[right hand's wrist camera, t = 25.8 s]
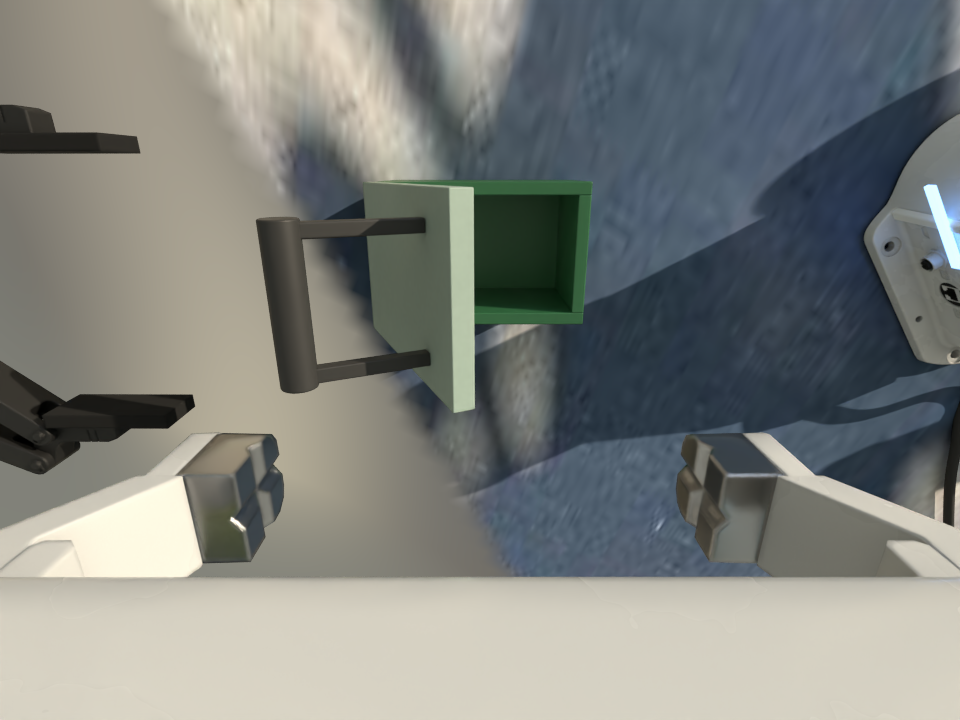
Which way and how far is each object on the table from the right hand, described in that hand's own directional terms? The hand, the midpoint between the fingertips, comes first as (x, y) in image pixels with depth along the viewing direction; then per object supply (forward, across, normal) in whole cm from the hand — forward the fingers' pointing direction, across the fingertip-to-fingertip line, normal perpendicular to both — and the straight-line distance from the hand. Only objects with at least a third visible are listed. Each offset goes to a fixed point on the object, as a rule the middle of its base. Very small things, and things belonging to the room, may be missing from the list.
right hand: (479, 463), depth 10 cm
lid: (+20, +3, 0) cm, 20 cm away
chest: (+37, 0, 0) cm, 37 cm away
